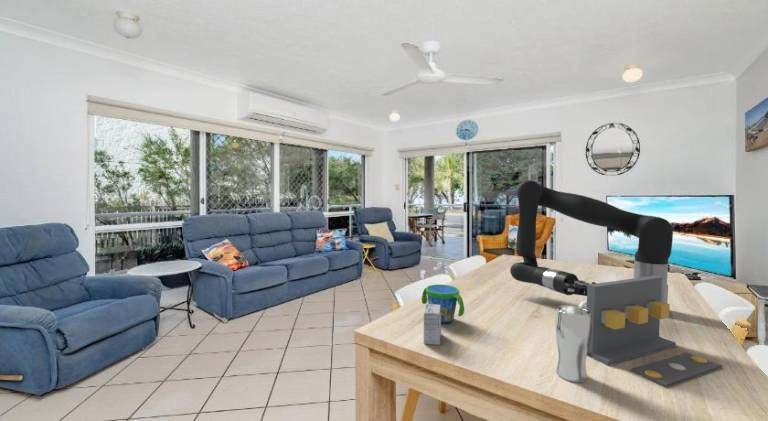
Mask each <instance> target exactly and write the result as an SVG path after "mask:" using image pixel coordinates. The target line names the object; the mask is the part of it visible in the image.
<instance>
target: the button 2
mask: <svg viewBox="0 0 768 421" xmlns="http://www.w3.org/2000/svg"><path fill="white" fill-rule="evenodd" d="M670 306H671V304H670V303H668V302H667V303H663V302H654V301H647V302H646V308H648V314H649V315H650V316H651V317H654V318H658V319H660V320H664V319H669V318H670V308H671V307H670Z"/></svg>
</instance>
